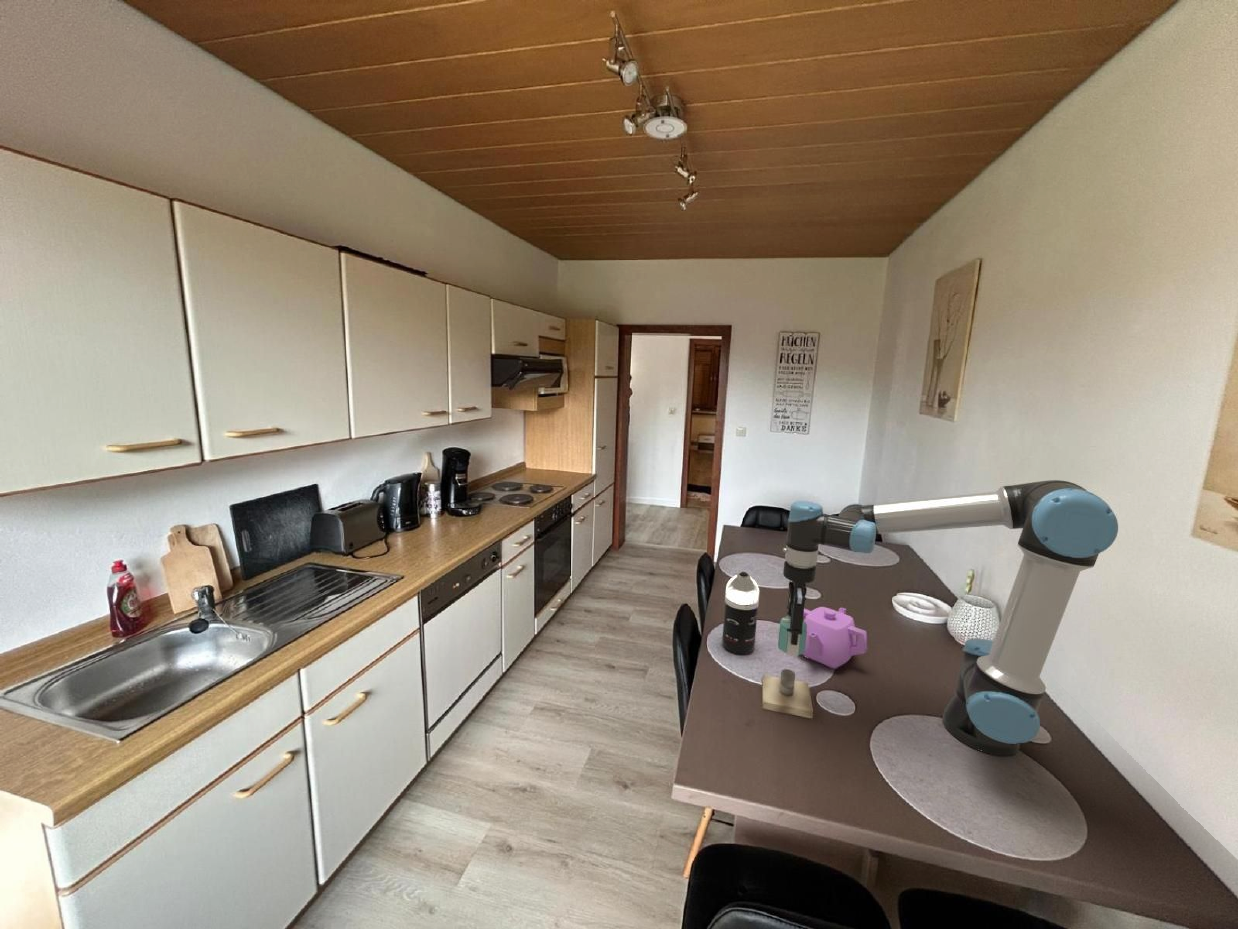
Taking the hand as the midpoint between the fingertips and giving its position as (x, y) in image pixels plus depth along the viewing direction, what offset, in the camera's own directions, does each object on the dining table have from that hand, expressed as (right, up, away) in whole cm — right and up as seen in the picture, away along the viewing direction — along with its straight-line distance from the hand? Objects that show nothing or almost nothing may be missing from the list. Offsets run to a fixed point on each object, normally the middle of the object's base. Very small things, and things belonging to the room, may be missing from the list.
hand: (791, 646), depth 126 cm
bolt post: (0, -15, +3) cm, 15 cm away
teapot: (+19, -12, +23) cm, 32 cm away
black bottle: (-7, -10, +27) cm, 30 cm away
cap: (0, 0, 0) cm, 0 cm away
